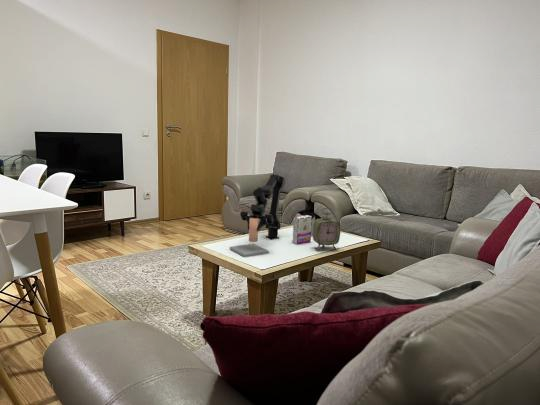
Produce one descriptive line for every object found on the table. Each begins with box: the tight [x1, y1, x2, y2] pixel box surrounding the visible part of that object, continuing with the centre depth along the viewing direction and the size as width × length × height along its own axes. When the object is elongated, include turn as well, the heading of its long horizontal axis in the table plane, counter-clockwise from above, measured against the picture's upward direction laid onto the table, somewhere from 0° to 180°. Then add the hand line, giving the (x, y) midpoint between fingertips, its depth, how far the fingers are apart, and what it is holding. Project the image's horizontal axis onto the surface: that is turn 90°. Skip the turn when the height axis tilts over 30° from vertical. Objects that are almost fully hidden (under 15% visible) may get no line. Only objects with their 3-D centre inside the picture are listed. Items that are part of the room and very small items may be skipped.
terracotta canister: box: [248, 217, 260, 243], centre depth 241 cm, size 5×5×13 cm
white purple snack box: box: [294, 211, 316, 238], centre depth 286 cm, size 9×14×15 cm, turn 71°
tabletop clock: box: [312, 207, 341, 251], centre depth 254 cm, size 14×9×25 cm, turn 106°
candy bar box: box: [292, 215, 312, 245], centre depth 266 cm, size 11×5×16 cm, turn 126°
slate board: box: [229, 243, 270, 258], centre depth 244 cm, size 16×16×2 cm
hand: (252, 230), depth 240 cm, fingers closed on terracotta canister, 5 cm apart
